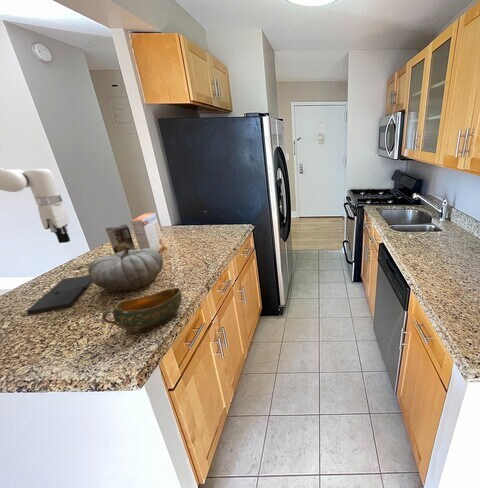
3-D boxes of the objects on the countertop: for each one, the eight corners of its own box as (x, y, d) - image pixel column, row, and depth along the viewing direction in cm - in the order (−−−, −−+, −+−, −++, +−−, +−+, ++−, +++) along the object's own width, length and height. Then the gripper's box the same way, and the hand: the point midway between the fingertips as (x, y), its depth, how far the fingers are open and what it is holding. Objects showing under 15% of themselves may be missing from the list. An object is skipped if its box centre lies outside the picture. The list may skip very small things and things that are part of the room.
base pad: (28, 314, 93) (26, 310, 92) (47, 296, 103) (45, 293, 103) (70, 306, 97) (69, 303, 96) (84, 290, 107) (83, 287, 107)
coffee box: (135, 251, 145) (126, 224, 139) (137, 255, 140) (129, 226, 134) (114, 256, 139) (105, 227, 133) (116, 260, 134) (106, 230, 128)
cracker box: (154, 248, 149) (144, 212, 141) (165, 247, 150) (156, 212, 142) (141, 258, 136) (129, 220, 128) (153, 257, 137) (142, 219, 129)
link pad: (45, 299, 101) (43, 296, 101) (63, 282, 114) (62, 279, 113) (83, 293, 106) (82, 290, 105) (97, 277, 118) (95, 274, 117)
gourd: (150, 292, 101) (132, 250, 96) (83, 307, 99) (61, 266, 94) (176, 268, 125) (163, 234, 120) (123, 280, 123) (107, 246, 118)
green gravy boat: (122, 317, 91) (113, 292, 87) (185, 305, 98) (180, 281, 94) (109, 342, 80) (98, 315, 76) (181, 326, 86) (174, 301, 83)
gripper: (47, 197, 111) (62, 237, 118) (25, 204, 98) (43, 249, 105) (69, 196, 114) (83, 235, 121) (51, 203, 101) (67, 246, 108)
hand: (64, 241), depth 113 cm, fingers closed
